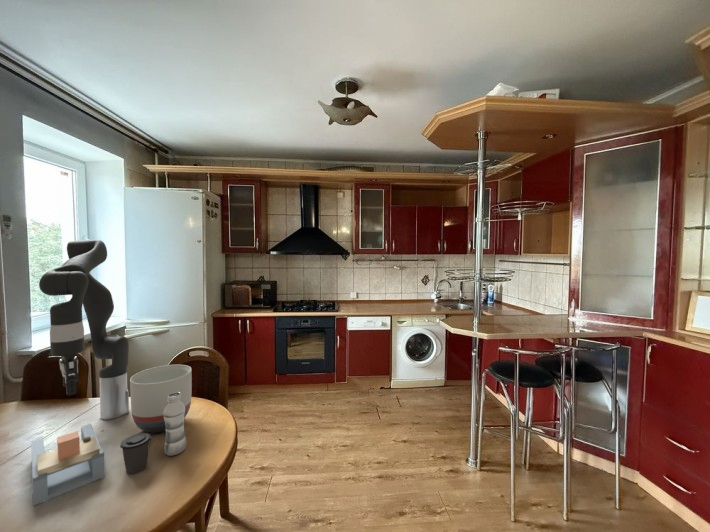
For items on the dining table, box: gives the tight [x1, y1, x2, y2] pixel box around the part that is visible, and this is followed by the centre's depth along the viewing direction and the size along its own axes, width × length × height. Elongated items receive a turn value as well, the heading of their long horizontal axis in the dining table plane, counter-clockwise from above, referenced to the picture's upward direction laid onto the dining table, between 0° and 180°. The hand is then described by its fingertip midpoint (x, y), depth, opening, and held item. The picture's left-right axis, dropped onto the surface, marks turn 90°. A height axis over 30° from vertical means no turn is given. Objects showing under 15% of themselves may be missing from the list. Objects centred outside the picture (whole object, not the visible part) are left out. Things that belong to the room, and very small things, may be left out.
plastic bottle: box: [163, 392, 187, 457], centre depth 105 cm, size 6×7×20 cm
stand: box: [30, 423, 106, 506], centre depth 97 cm, size 15×27×7 cm, turn 47°
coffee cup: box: [119, 432, 152, 476], centre depth 97 cm, size 8×8×10 cm
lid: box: [37, 437, 100, 476], centre depth 91 cm, size 13×10×3 cm
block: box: [56, 430, 81, 461], centre depth 91 cm, size 4×4×5 cm
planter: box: [129, 364, 193, 434], centre depth 120 cm, size 20×20×21 cm
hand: (70, 390), depth 93 cm, fingers open, 8 cm apart
